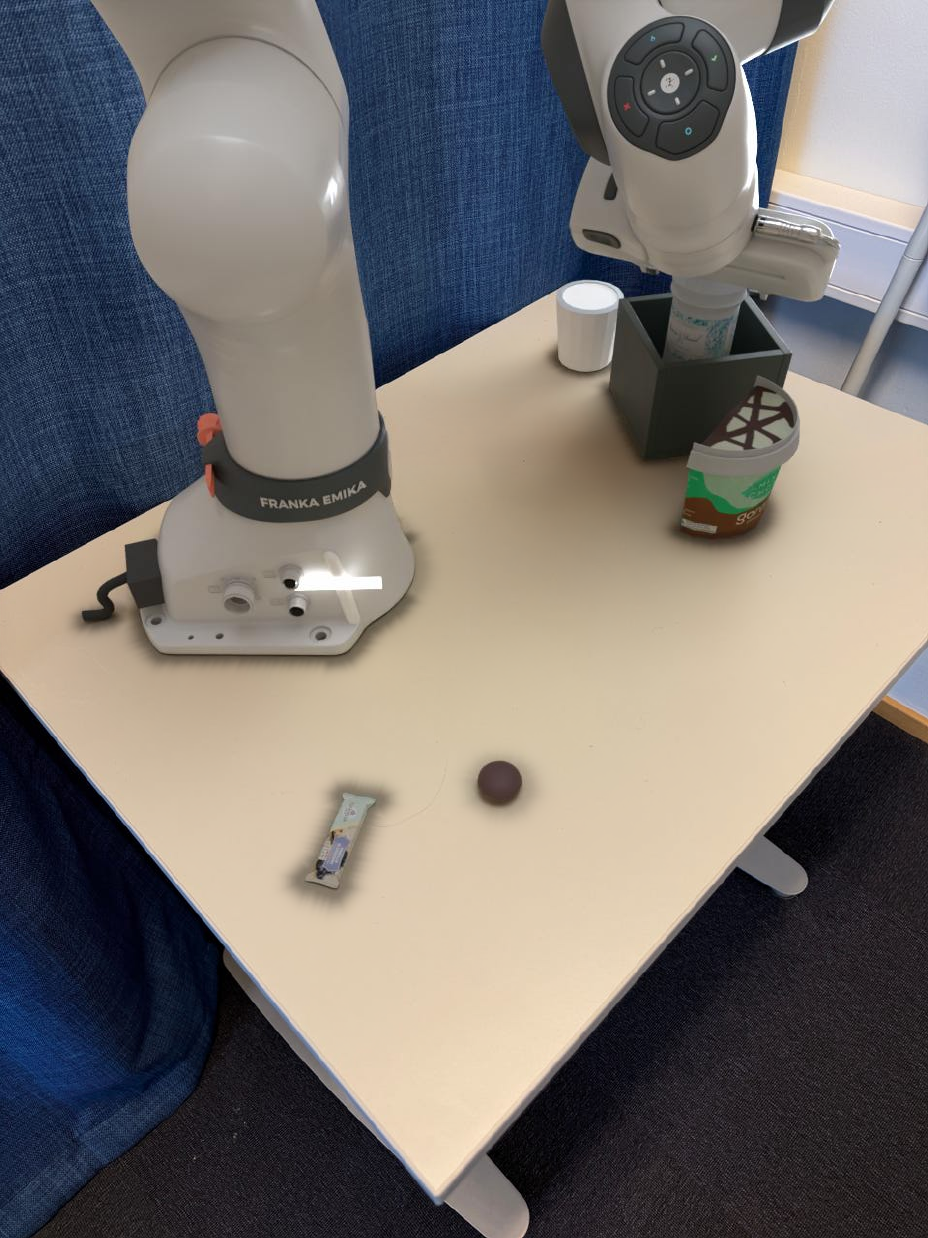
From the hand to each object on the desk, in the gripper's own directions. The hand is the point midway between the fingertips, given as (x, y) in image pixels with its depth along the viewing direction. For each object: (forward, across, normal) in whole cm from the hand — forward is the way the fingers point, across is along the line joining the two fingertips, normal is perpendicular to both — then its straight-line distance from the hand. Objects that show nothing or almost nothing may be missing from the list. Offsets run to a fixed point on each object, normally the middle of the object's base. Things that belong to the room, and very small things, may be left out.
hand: (706, 277), depth 77 cm
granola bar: (-26, +6, +49) cm, 56 cm away
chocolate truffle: (-21, -2, +43) cm, 47 cm away
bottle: (+11, 0, +9) cm, 14 cm away
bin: (+11, 0, +10) cm, 15 cm away
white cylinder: (+15, +12, +6) cm, 21 cm away
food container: (+3, -9, +18) cm, 21 cm away
